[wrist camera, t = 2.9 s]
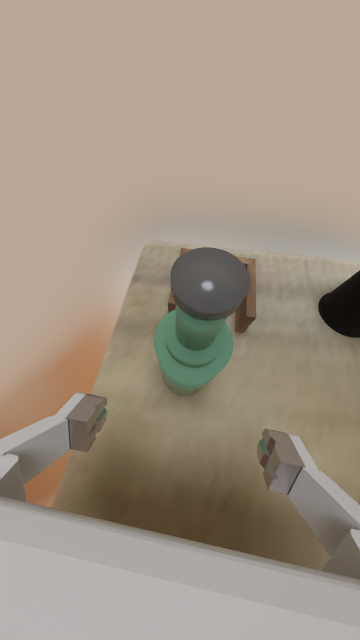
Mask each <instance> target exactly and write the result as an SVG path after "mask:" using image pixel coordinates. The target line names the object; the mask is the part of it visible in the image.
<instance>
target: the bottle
mask: <svg viewBox="0 0 360 640" xmlns="http://www.w3.org/2000/svg"><path fill="white" fill-rule="evenodd" d="M249 287H250V277H249V273H248V271H247V269H246V267H245V266H244V264H243V263H242V262H241V261H240V260H239V259H238V258H237V257H235V256H234V255H232V254H230V253H228V252H226V251H224V250H220V249H216V248H197V249H193V250H190V251H188V252H186V253H184V254H182V255H181V256H180V257H179V258H178V259H177V260H176V261H175V263H174V264H173V266H172V269H171V294H172V297H173V300H174V302H175V303H176V309H175V310H173V311H171V312H170V313H168V314H167V315H166V316H165V317H164V318H163V319H162V320H161V321H160V323H159V325H158V327H157V329H156V332H155V337H154V346H155V351H156V354H157V358H158V361H159V364H160V367H161V370H162V373H163V376H164V379H165V382H166V384H167V386H168V387H169V389H170V390H171V391H173V392H174V393H176V394H178V395H183V396H187V395H192V394H194V393H196V392H197V391H198V390H199V389H201V388H202V387H203V386H204V385H205V384H206V383H207V382H209V381H210V380H211V379H212V378H213V377H214V376H215V375H217V374H218V373H219V372H220V371H221V370H222V369H223V368H224V367H225V366H226V365H227V363H228V361H229V359H230V357H231V354H232V349H233V340H232V335H231V332H230V330H229V328H228V326H227V324H226V323H225V321H226V319H227V317H228V316H230V315H231V314H233V313H234V312H235V311H236V310H237V309H238V307H239V306H240V304H241V303H242V301H243V300H244V298H245V296H246V295H247V293H248V291H249Z"/></svg>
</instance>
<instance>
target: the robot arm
mask: <svg viewBox="0 0 360 640" xmlns="http://www.w3.org/2000/svg"><path fill="white" fill-rule="evenodd" d="M106 405H107V398H105V397H100V396H96V395H91V394H86V393H81V392H78V393H75V394H74V395H73V397H72V398H71V399H70V400H69V401H68V402H67V403H66V404H65V405H64V406H63V407H62V408H61V409H60V410H59V411H58V412H57V414H56V415H55V416H49V417H47V418H45V419H43V420H41V421H39V422H36V423H34V424H32V425H30V426H28V427H26V428H23V429H22V430H19V431H17V432H15V433H13V434H11V435H8V436H6V437H4V438H2V439H0V640H360V505H359V504H358V503H357V502H356V501H354V500H353V499H352V498H351V497H350V496H349V495H348V494H347V493H346V492H345V491H343V490H342V489H341V488H340V487H339V486H338V485H337V484H336V483H335V482H334V481H333V480H331V479H330V478H329V477H328V476H327V475H326V474H325V473H324V472H323V471H319V470H318V468H317V466H316V465H315V463H314V461H313V460H312V458H311V456H310V454H309V453H308V451H307V449H306V448H305V446H304V444H303V442H302V441H301V439H300V437H299V436H298V435H296V434H291V433H285V432H280V431H275V430H269V429H264V430H263V432H262V436H263V439H262V440H260V441H259V443H258V447H257V454H258V459H259V463H260V464H261V465H262V467H263V468H264V472H263V476H264V479H265V482H266V486H267V489H268V491H272V492H276V493H280V494H284V495H288V498H289V499H290V501H291V502H292V503H293V505H294V506H295V508H296V509H297V510H298V512H299V513H300V514H301V516H302V517H303V519H304V520H305V521H306V523H307V524H308V525H309V527H310V528H311V530H312V531H313V532H314V534H315V535H316V536H317V538H318V539H319V541H320V542H321V543H322V545H323V546H324V547H325V549H326V550H327V552H328V553H329V554H330V557H329V559H328V560H327V561H326V563H325V564H324V566H323V571H321V570H317V569H312V568H308V567H304V566H299V565H295V564H291V563H287V562H282V561H278V560H274V559H269V558H265V557H261V556H257V555H252V554H248V553H244V552H239V551H235V550H231V549H227V548H222V547H218V546H214V545H209V544H205V543H201V542H197V541H192V540H188V539H184V538H179V537H175V536H171V535H166V534H162V533H158V532H154V531H149V530H145V529H141V528H136V527H132V526H128V525H123V524H119V523H115V522H110V521H106V520H102V519H97V518H93V517H89V516H85V515H80V514H76V513H72V512H67V511H63V510H59V509H54V508H50V507H46V506H41V505H37V504H33V503H28V502H25V501H26V492H25V487H24V484H26V483H27V482H28V481H30V480H31V479H32V478H34V477H35V476H36V475H37V474H39V473H40V472H41V471H43V470H44V469H46V468H47V467H48V466H49V465H51V464H52V463H53V462H55V461H56V460H57V459H59V458H60V457H61V456H63V455H64V454H65V453H67V452H68V451H69V450H70V449H73V450H78V451H84V452H88V451H89V449H90V447H91V446H92V444H93V442H94V441H95V439H96V433H97V432H99V431H100V430H101V429H102V427H103V425H104V422H105V420H106V416H107V410H106V409H105V406H106Z"/></svg>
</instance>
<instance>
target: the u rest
mask: <svg viewBox="0 0 360 640" xmlns="http://www.w3.org/2000/svg"><path fill="white" fill-rule="evenodd" d="M188 251H190V249H184V248H181V253H180V256H181V255H182V254H184V253H186V252H188ZM235 257H237V256H235ZM237 258H238V259H239V260H240V261H241V262H242V263H243V264H244V266H245V267H246V269H247V271H248V273H249V277H250V287H249V291H248V293H247V295H246V296H245V298H244V300H243V301H242V303H241V304H240V306H239V307H238V309H237V310H236V319H235V332H241V333H243V332H244V331H245V330H246V329H247V328H248V326H249V325H250V324H251V323H252V322H253V321H254V320H255V318H256V269H255V259H251V258H244V257H237ZM175 309H176V303H175V302H174V300H173V297H172V294H171V293H170V297H169V301H168V310H169V313H170V312H171V311H173V310H175Z"/></svg>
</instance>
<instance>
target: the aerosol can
mask: <svg viewBox="0 0 360 640" xmlns="http://www.w3.org/2000/svg"><path fill="white" fill-rule="evenodd" d="M319 311H320V314H321V316H322V318H323V319H324V320H325V322H326V323H327V324H328V325H329V326H330V327H331V328H333V329H334V330H336V331H337V332H339V333H341V334H344V335H346V336H351V337H360V271H358V272H357V273H356V274H354V275H353V276H352V277H350V278H349V279H348V280H347V281H345V282H344V283H343V284H341V285H340V286H339V287H337V288H336V289H335V290H333V291H332V292H330V293H328V294H326V295H324V296H323V297H322V298H321V299H320V302H319Z"/></svg>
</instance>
